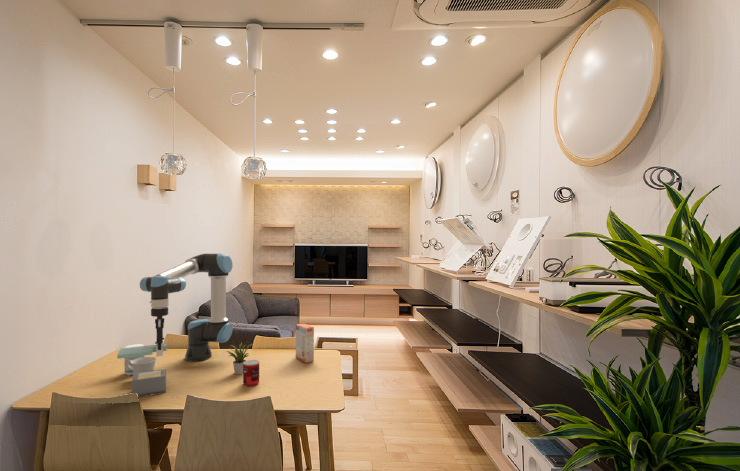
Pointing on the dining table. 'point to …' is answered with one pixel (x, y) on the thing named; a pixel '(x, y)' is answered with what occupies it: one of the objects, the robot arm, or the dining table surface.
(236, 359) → the house plant
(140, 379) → the tub
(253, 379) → the canned food
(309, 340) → the cracker box
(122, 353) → the lid
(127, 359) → the supplement tub
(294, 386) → the dining table surface
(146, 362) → the teacup
